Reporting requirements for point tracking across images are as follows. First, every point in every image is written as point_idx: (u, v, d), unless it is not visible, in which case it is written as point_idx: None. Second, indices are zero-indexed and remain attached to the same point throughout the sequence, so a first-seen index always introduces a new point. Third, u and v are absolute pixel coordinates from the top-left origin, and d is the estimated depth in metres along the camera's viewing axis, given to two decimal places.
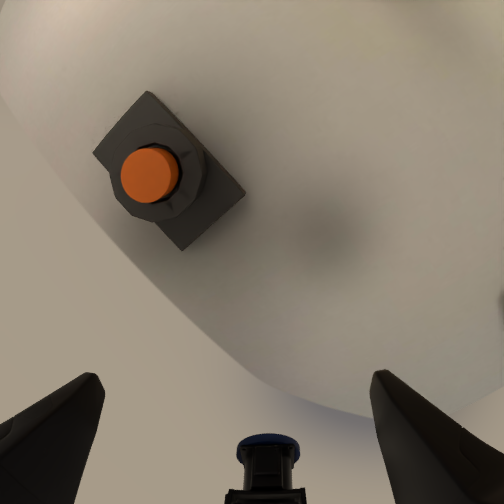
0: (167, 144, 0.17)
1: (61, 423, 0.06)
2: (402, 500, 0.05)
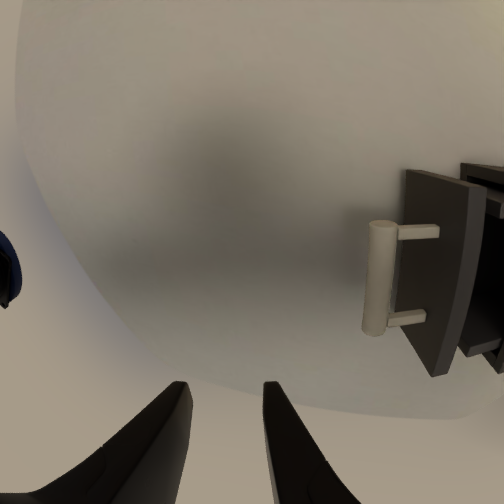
0: None
1: (163, 445, 0.06)
2: None
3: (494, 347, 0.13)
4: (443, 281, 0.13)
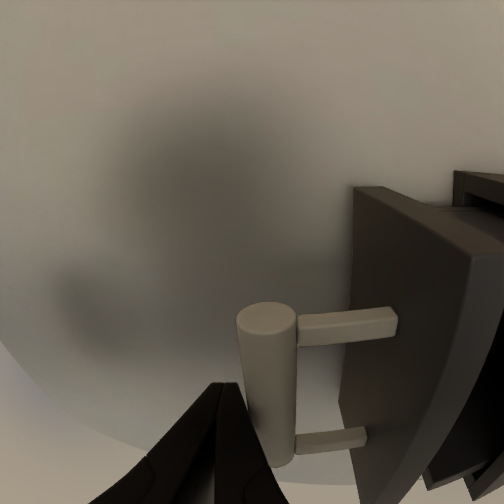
0: None
1: (209, 449, 0.06)
2: None
3: (476, 470, 0.07)
4: (393, 416, 0.06)
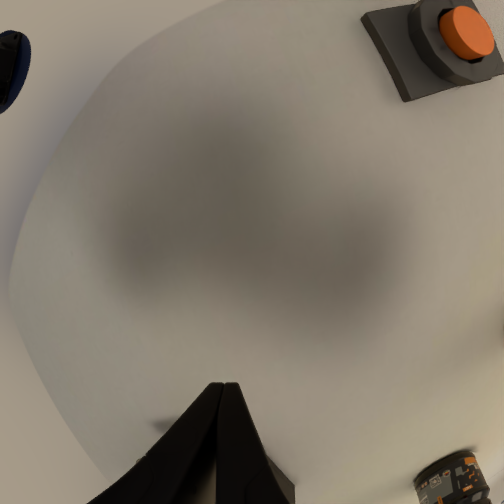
0: (482, 62, 0.11)
1: (208, 449, 0.06)
2: None
3: None
4: None
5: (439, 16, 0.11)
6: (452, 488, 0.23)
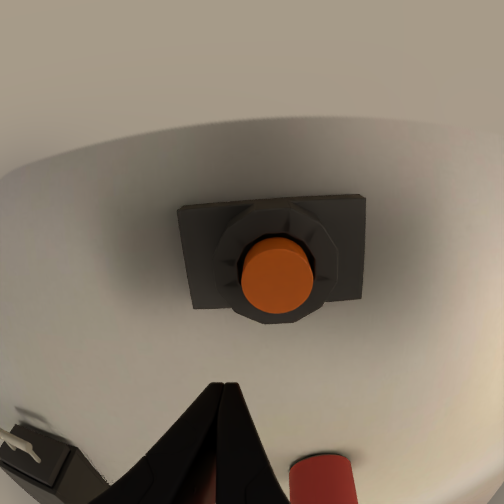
0: None
1: (208, 449, 0.06)
2: None
3: None
4: (23, 462, 0.21)
5: None
6: None
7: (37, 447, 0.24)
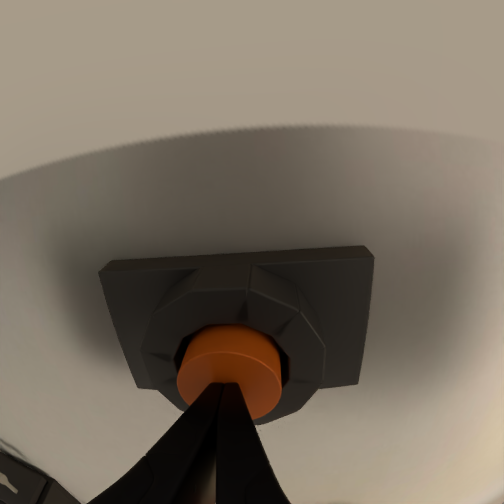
0: None
1: (208, 449, 0.06)
2: None
3: None
4: (1, 491, 0.16)
5: None
6: None
7: (14, 477, 0.19)
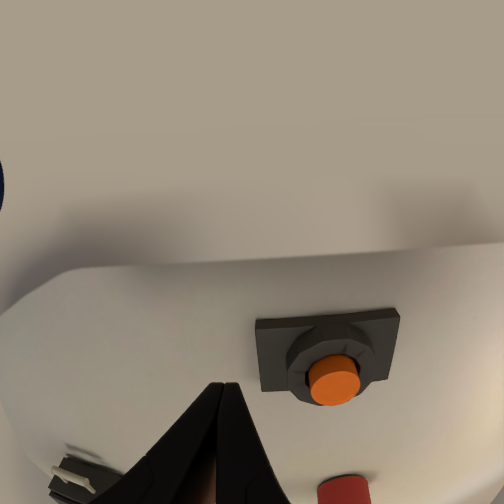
0: None
1: (208, 449, 0.06)
2: None
3: None
4: (78, 493, 0.26)
5: None
6: None
7: (90, 479, 0.29)
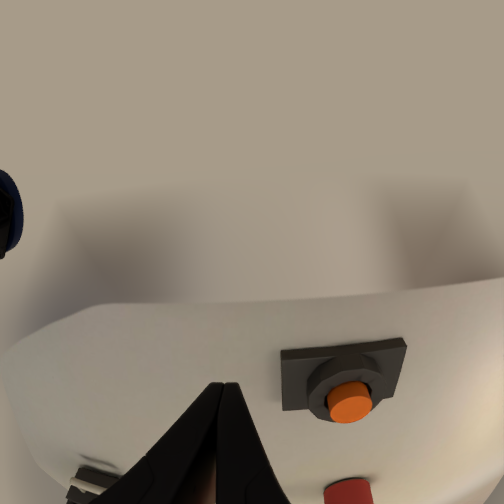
0: None
1: (208, 449, 0.06)
2: None
3: None
4: None
5: None
6: None
7: None
